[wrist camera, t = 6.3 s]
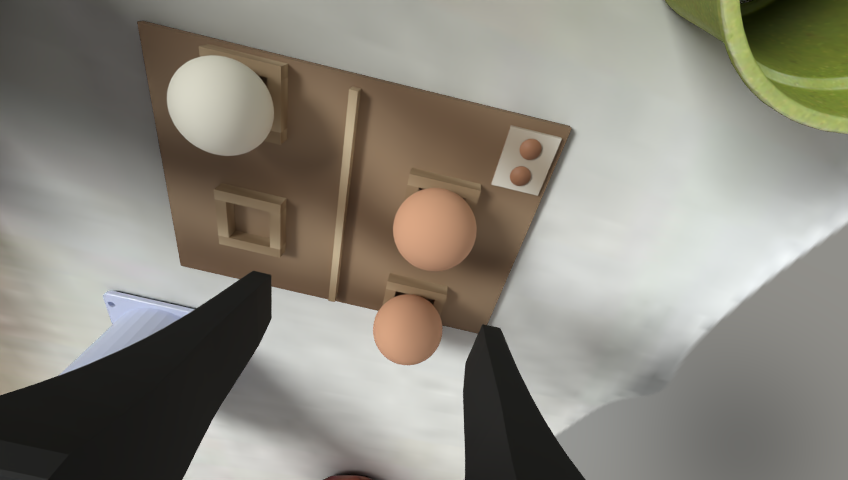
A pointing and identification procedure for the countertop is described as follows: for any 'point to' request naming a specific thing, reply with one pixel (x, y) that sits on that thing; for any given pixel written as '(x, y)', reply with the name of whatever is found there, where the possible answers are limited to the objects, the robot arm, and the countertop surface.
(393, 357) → the terracotta ball
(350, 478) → the fruit
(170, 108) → the cream ball
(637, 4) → the countertop surface
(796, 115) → the plant pot
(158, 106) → the board
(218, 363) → the robot arm
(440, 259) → the terracotta ball
